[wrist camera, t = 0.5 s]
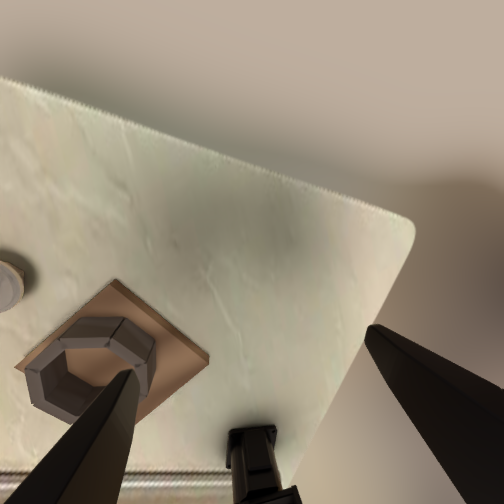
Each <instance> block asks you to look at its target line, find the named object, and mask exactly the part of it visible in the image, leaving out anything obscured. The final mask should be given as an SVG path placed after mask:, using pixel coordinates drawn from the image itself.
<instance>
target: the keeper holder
mask: <svg viewBox="0 0 504 504" xmlns="http://www.w3.org/2000/svg"><path fill="white" fill-rule="evenodd" d="M207 365H209V355H207V354H206V353H205V352H204V351H203V350H201V349H200V348H199V347H198V346H196V345H195V344H194V343H193V342H192V341H190V340H189V339H188V338H187V337H185V336H184V335H183V334H182V333H181V332H179V331H178V330H177V329H176V328H174V327H173V326H172V325H171V324H170V323H168V322H167V321H166V320H165V319H163V318H162V317H161V316H160V315H159V314H157V313H156V312H155V311H154V310H152V309H151V308H150V307H149V306H148V305H146V304H145V303H144V302H143V301H141V300H140V299H139V298H138V297H137V296H135V295H134V294H133V293H132V292H130V291H129V290H128V289H127V288H126V287H124V286H123V285H122V284H121V283H119V282H118V281H117V280H116V279H115V280H114V281H113V282H111V283H110V284H109V285H108V286H107V287H106V288H105V289H103V290H102V291H101V292H100V293H99V294H98V295H97V296H95V297H94V298H93V299H92V300H91V301H90V302H88V303H87V304H86V305H85V306H84V307H83V308H82V309H80V310H79V311H78V312H77V313H76V314H75V315H74V316H72V317H71V318H70V319H69V320H68V321H67V322H65V323H64V324H63V325H62V326H61V327H60V328H59V329H57V330H56V331H55V332H54V333H53V334H52V335H51V336H49V337H48V338H47V339H46V340H45V341H44V342H42V343H41V344H40V345H39V346H38V347H37V348H36V349H34V350H33V351H32V352H31V353H30V354H29V355H28V356H26V357H25V358H24V359H23V360H22V361H21V362H20V363H18V364H17V365H16V366H15V367H14V368H16V369H18V370H20V371H21V372H23V373H25V376H26V381H27V386H28V390H29V395H30V400H31V404H34V405H33V406H35V407H36V408H38V409H40V410H42V411H44V412H46V413H48V414H50V415H52V416H54V417H56V418H58V419H60V420H62V421H64V422H66V423H68V424H69V425H71V424H72V423H73V424H74V422H75V421H76V420H77V419H78V418H79V417H80V416H81V414H82V413H83V412H84V411H85V410H86V409H87V408H88V406H89V405H90V404H91V403H92V402H93V401H94V400H95V398H96V397H97V396H98V395H99V394H100V393H101V392H102V390H103V389H104V388H105V387H106V386H107V385H108V384H109V382H110V381H111V380H112V379H113V378H114V377H115V376H116V374H117V373H118V372H120V371H121V370H126V369H134V370H135V372H136V375H137V377H138V379H139V382H140V395H139V401H138V407H137V414H136V420H135V425H136V424H137V423H138V422H139V421H140V420H142V419H143V418H144V417H145V416H147V415H148V414H149V413H150V412H151V411H153V410H154V409H155V408H156V407H158V406H159V405H160V404H161V403H162V402H164V401H165V400H166V399H167V398H168V397H170V396H171V395H172V394H173V393H175V392H176V391H177V390H178V389H179V388H181V387H182V386H183V385H184V384H185V383H187V382H188V381H189V380H190V379H192V378H193V377H194V376H195V375H196V374H198V373H199V372H200V371H201V370H202V369H204V368H205V367H206V366H207Z"/></svg>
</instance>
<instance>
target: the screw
mask: <svg viewBox="0 0 504 504" xmlns="http://www.w3.org/2000/svg"><path fill="white" fill-rule="evenodd" d="M23 293H24V271H22V270H20V269H19V268H17V267H15V266H14V265H12V264H10V263H9V262H2V261H1V260H0V313H1V312H5V311H7V310H9V309H11V308H12V307H14V306H16V305H17V304H18V303H19V302H20V300H21V299H22V297H23Z"/></svg>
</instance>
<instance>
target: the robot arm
mask: <svg viewBox="0 0 504 504" xmlns="http://www.w3.org/2000/svg"><path fill="white" fill-rule="evenodd" d="M364 341H365V345H366V347H367V349H368V351H369V353H370V354H371V356H372V358H373V360H374V362H375V364H376V365H377V367H378V369H379V371H380V373H381V374H382V376H383V378H384V379H385V381H386V383H387V385H388V386H389V388H390V389H391V391H392V392H393V394H394V396H395V397H396V398H397V400H398V402H399V403H400V404H401V406H402V408H403V409H404V411H405V412H406V414H407V415H408V416H409V418H410V420H411V421H412V423H413V424H414V426H415V427H416V429H417V430H418V432H419V433H420V435H421V436H422V438H423V439H424V441H425V442H426V444H427V445H428V447H429V448H430V450H431V451H432V453H433V454H434V456H435V457H436V459H437V460H438V462H439V463H440V465H441V466H442V468H443V469H444V471H445V472H446V474H447V475H448V477H449V478H450V479H451V481H452V483H453V484H454V486H455V487H456V489H457V490H458V492H459V493H460V495H461V496H462V498H463V499H464V501H465V502H466V504H504V389H501V388H500V387H498V386H497V385H495V384H493V383H491V382H489V381H487V380H485V379H483V378H481V377H479V376H478V375H476V374H474V373H472V372H470V371H468V370H466V369H464V368H462V367H461V366H458V365H457V364H455V363H453V362H451V361H449V360H447V359H445V358H443V357H441V356H439V355H438V354H436V353H434V352H432V351H430V350H428V349H426V348H424V347H422V346H420V345H419V344H417V343H415V342H413V341H411V340H409V339H407V338H405V337H403V336H401V335H399V334H398V333H396V332H394V331H392V330H390V329H388V328H386V327H384V326H382V325H380V324H373V325H369V326H368V328H367V331H366V335H365V339H364ZM139 395H140V382H139V379H138V377H137V375H136V372H135V370H134V369H126V370H121V371H120V372H118V373H117V374H116V376H115V377H114V378H113V379H112V380H111V381H110V382H109V384H108V385H107V386H106V387H105V388H104V389H103V390H102V392H101V393H100V394H99V395H98V396H97V397H96V398H95V400H94V401H93V402H92V403H91V404H90V405H89V406H88V408H87V409H86V410H85V411H84V412H83V413H82V414H81V416H80V417H79V418H78V419H77V420H76V421H75V422H74V424H73V425H72V426H71V427H70V428H69V429H68V430H67V432H66V433H65V434H64V435H63V436H62V437H61V438H60V440H59V441H58V442H57V443H56V444H55V445H54V446H53V448H52V449H51V450H50V451H49V452H48V453H47V454H46V456H45V457H44V458H43V459H42V460H41V461H40V462H39V463H38V465H37V466H36V467H35V468H34V469H33V470H32V471H31V473H30V474H29V475H28V476H27V477H26V478H25V479H24V481H23V482H22V483H21V484H20V485H19V486H18V487H17V489H16V490H15V491H14V492H13V493H12V494H11V495H10V497H9V498H8V499H7V500H6V501H5V502H4V503H3V504H117V500H118V496H119V492H120V488H121V484H122V480H123V476H124V472H125V468H126V464H127V460H128V456H129V452H130V448H131V444H132V439H133V433H134V427H135V420H136V414H137V407H138V401H139ZM276 435H277V428H276V426H265V427H256V428H247V429H238V430H231V431H230V432H229V434H228V445H227V455H226V468H227V469H231V471H232V487H233V503H234V504H302V501H301V498H300V495H299V492H298V489H297V486H296V485H294V486H291V488H287V489H284V490H283V489H282V485H281V480H280V476H279V472H278V467H277V463H276V459H275V455H274V446H275V441H276Z"/></svg>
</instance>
